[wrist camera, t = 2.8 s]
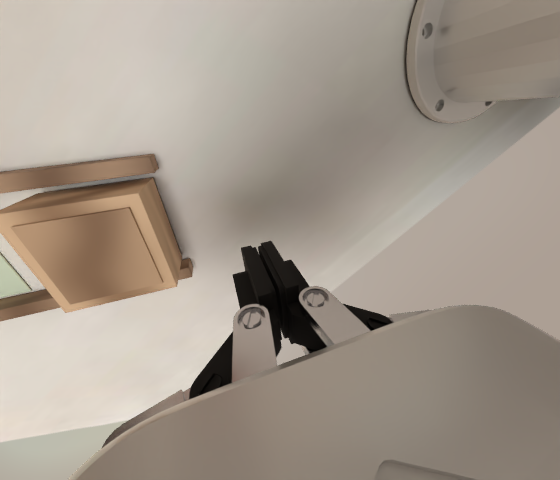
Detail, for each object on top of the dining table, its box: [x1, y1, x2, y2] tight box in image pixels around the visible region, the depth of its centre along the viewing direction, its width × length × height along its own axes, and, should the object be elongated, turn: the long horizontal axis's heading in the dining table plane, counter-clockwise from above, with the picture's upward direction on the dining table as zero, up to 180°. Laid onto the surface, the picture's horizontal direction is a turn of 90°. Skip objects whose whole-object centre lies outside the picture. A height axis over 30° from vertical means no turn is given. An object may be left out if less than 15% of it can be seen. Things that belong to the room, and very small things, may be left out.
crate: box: [0, 178, 182, 313], centre depth 15 cm, size 7×7×4 cm
